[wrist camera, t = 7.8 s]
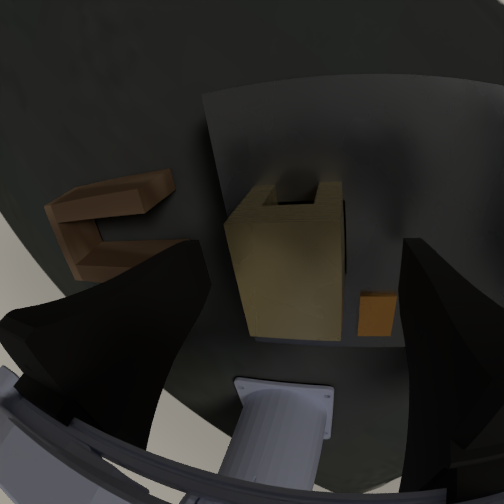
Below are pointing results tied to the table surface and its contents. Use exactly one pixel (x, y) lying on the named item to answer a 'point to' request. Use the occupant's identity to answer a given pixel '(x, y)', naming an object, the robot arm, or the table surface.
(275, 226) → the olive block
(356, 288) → the dark grey l-shaped block
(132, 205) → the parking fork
